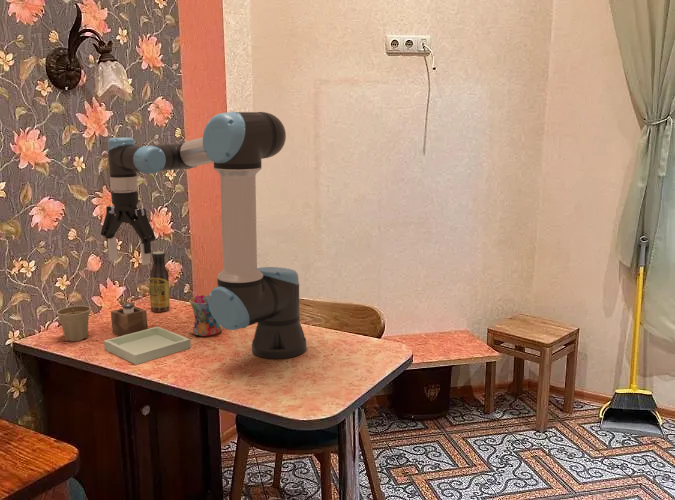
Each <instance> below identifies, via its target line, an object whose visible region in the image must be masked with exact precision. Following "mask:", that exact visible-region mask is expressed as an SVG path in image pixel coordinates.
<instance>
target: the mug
mask: <svg viewBox="0 0 675 500" xmlns="http://www.w3.org/2000/svg"><path fill="white" fill-rule="evenodd" d="M208 298H209V294H205V295H204V294H203V295H196V296H193V297H191V298H189V300H188V301H189V303H190V306H191V308H192V310H193V314H194V315H193V316H194V326H193V329H192V334H194V335H196V336H200V337H209V336H210V337H211V336H215V335H217V334H219V333H220V332H221V331H222V326H220V325H219V324H218V323H217V322H216V320H215V319H214V318H213V316H212V314H211V312H210V309H209V304H208Z"/></svg>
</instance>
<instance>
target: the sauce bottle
mask: <svg viewBox="0 0 675 500" xmlns="http://www.w3.org/2000/svg"><path fill="white" fill-rule="evenodd" d="M151 257H152V268H151V270H150V274H149V303H150V310H151V312H153V313H164V312H167V311H169V310H170V305H171V303H170V302H171V301H170V280H169V279H170V278H169V271H168V269H167V267H166V263H165V261H166V260H165V257H166V253H165V252H164V251H159V250H158V251H153V252H152V254H151Z"/></svg>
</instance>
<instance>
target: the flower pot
mask: <svg viewBox="0 0 675 500" xmlns="http://www.w3.org/2000/svg"><path fill="white" fill-rule="evenodd" d="M91 310H92V308H91V307H90V306H88V305H71V306H66V307H61V308H60V309H57V310H56V315H57V316H58V319H59V321H60V323H61V328H62V332H63V335H64V339H65V340H66V341H70V342H76V341H77V342H78V341H82V340H84V339H87V338H88V335H89V318H90V311H91Z"/></svg>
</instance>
